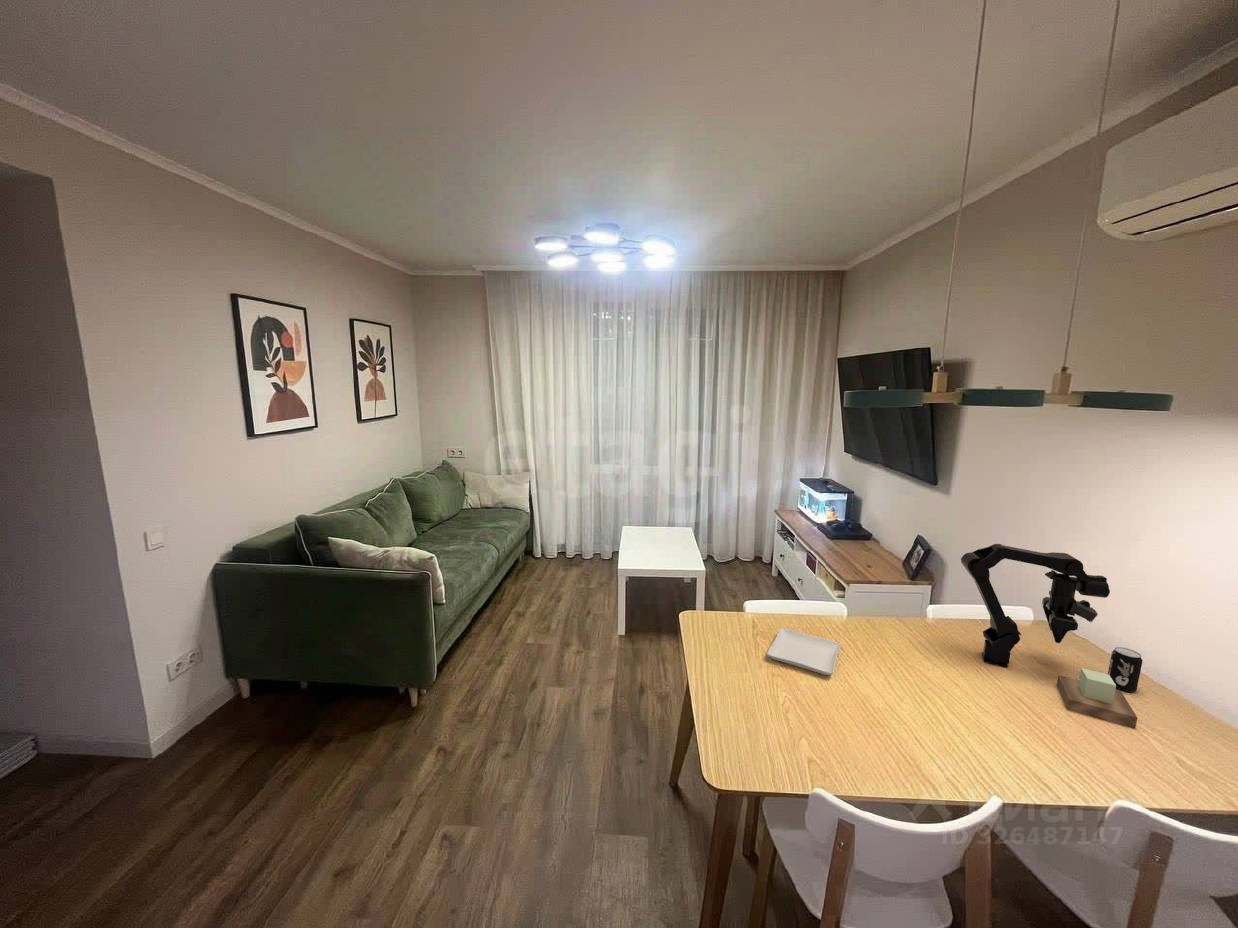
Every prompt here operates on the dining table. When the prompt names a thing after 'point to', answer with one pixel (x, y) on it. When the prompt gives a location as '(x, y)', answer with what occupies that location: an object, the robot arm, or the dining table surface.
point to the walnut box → (1096, 704)
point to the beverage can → (1125, 668)
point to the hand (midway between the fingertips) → (1055, 636)
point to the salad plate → (805, 651)
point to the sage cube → (1097, 686)
